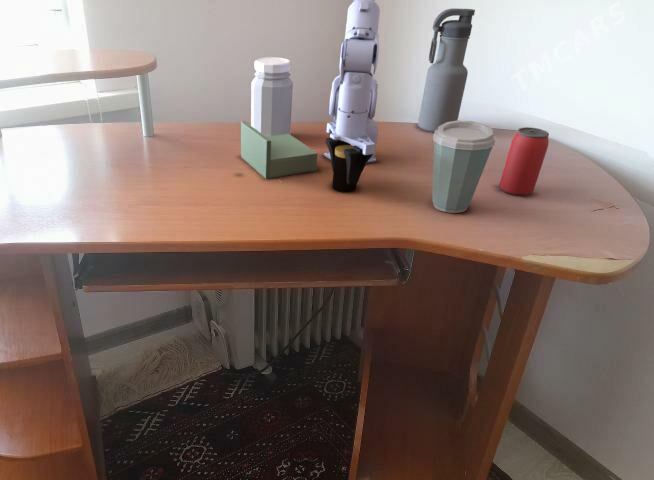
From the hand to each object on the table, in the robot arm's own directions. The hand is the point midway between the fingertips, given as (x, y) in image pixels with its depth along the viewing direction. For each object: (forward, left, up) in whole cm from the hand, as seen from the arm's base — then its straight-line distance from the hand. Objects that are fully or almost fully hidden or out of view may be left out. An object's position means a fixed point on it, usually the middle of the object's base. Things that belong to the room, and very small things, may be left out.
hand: (345, 178), depth 109 cm
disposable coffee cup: (-14, +15, -2) cm, 21 cm away
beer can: (-32, +14, -2) cm, 35 cm away
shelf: (+7, -17, -2) cm, 18 cm away
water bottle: (-44, -26, -2) cm, 51 cm away
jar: (+1, -34, -2) cm, 34 cm away
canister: (0, 0, -2) cm, 2 cm away
